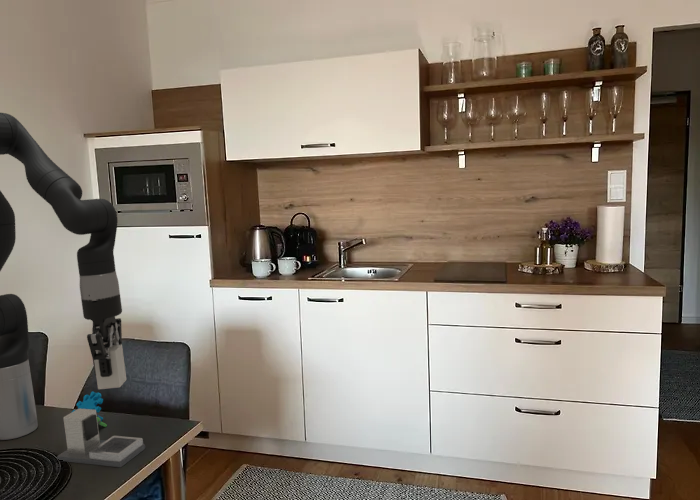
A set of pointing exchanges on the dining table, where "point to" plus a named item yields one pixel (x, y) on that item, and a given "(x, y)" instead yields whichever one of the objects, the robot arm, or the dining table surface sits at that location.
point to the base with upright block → (96, 442)
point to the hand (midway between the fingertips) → (110, 371)
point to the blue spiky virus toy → (92, 405)
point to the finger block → (117, 369)
